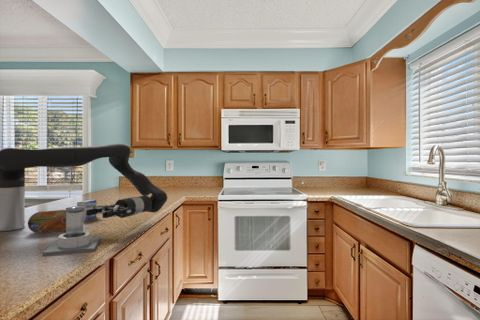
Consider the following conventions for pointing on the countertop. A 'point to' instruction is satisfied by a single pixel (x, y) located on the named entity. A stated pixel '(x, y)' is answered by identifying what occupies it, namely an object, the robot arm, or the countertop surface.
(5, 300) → the countertop surface
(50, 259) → the countertop surface
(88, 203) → the medicine box
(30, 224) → the tin
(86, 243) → the collar
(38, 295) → the countertop surface
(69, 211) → the silver metal canister
